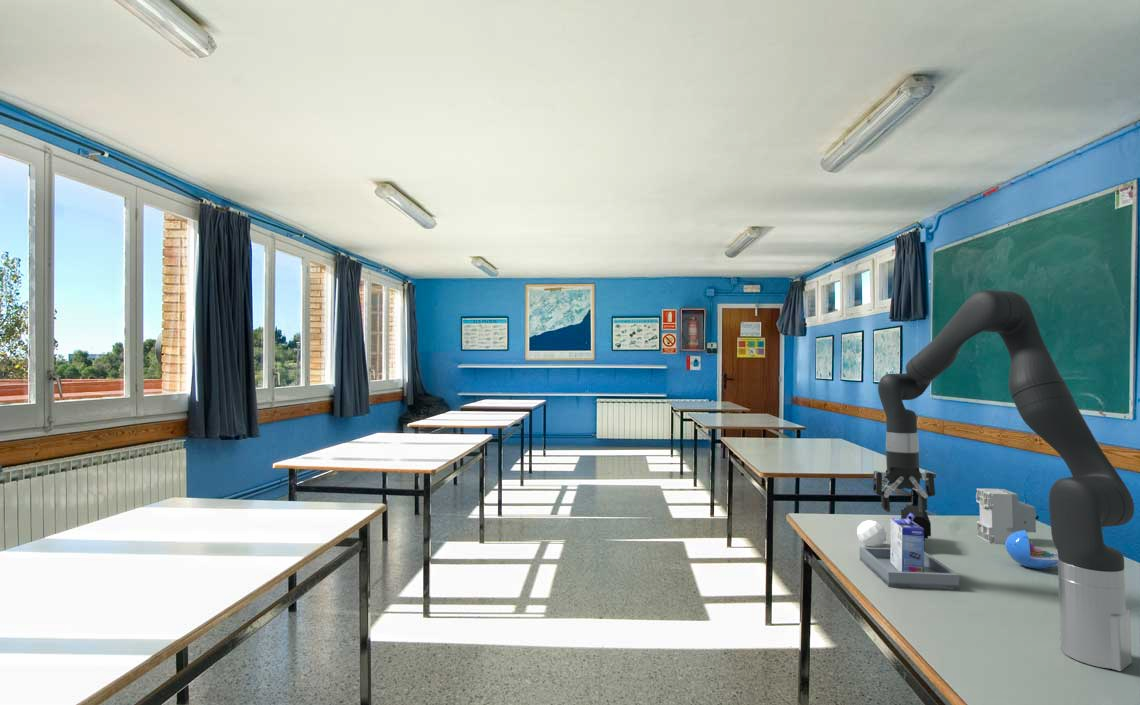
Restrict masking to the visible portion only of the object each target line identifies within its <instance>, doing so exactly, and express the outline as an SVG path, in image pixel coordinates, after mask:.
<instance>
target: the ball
mask: <svg viewBox="0 0 1140 705" xmlns="http://www.w3.org/2000/svg"><path fill="white" fill-rule="evenodd" d="M856 531H857V532H856V535H857V537H858V539H859V541H860V542H861V543H862V544H864V545H866V546H867V547H869V548H879V547H881V546H882V545H883V544H884V543H885V542H886V540H887V532H886V530H885V528H884V526H883V524H880V523H879V522H877V521H875V520H871V519H868V520H864V521H862V522H861V523H860V524H859V525H858V526H857V530H856Z"/></svg>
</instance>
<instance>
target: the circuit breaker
mask: <svg viewBox="0 0 1140 705" xmlns="http://www.w3.org/2000/svg"><path fill="white" fill-rule="evenodd" d="M975 500H976V501H975V502H976V503H978V504H979V520H976V531H977V534H976V537H979V538H980V539H982V540H984V541H985V542H986V543H989V544H991V543H992V544H1004V545H1005V542H1006V539H1007V538H1008V536H1009V535H1011V534H1012V533H1014V532H1017V531H1021V530H1025V531H1026V532H1027V533H1036V532H1037V527H1036V526H1037V524H1036V522H1037V521H1036V520H1039V515H1037V514H1036V507H1035V506H1033V505H1030V504H1027V503H1025V502H1022V501H1019V494H1018V493H1017V492H1013V491H1010V490H1007V489H1005V488H976V494H975Z"/></svg>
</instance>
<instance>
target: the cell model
mask: <svg viewBox="0 0 1140 705" xmlns="http://www.w3.org/2000/svg"><path fill="white" fill-rule="evenodd" d="M1004 547H1005V549H1006V552H1007V554H1008V555H1009V556H1010V558H1011V559H1013V561H1015V563H1016V562H1017V563H1018V564H1019V565H1021V566H1024V567H1027V568H1029V569H1036V570H1037V569H1039V570H1042V569H1048V568H1052V567H1054V566H1056V565H1058V553H1056V552H1053V551H1048V550H1043V549H1042V548H1037V547H1035V545H1034V541H1031V540H1030V539H1029V536H1028V532H1026V531H1025V530H1021V531H1017V532H1014V533H1012V534H1011V535H1009V536H1008V538H1007V539H1006V542H1005V544H1004Z"/></svg>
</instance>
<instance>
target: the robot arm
mask: <svg viewBox="0 0 1140 705" xmlns="http://www.w3.org/2000/svg"><path fill="white" fill-rule="evenodd" d="M1035 318H1036V317H1035V316H1034V313H1033V310H1032V308H1031V306H1030V304H1029V302H1028V301H1027V299H1026V298H1025V297H1024V296H1022V294H1020V293H1017V292H1014V291H1009V290H995V289H985V290H984V289H983V290H979V291H977V292H976V291H975V292H974V293H973V294H972V295H971V296H969V298H967V299H966V300H965V301H964V303H963V304H962V305H961V306H960V308H958V310H956V312H955V313H954V315H953V316H952V318H950V320H949V321H948V322H947V323H946V324H945V326H944V327H943V328H942V329H941V330H940V331H939V333H938V334H937V335H936V336H935V337H934V339H933V340H932V341H930V342H929V343H928V344H927V345H926V346H924V348H922V350H919V352H918V353H917V354H915V355H914V356H913V357H911V358H910V360H908V362H907V363H906V365H905V372H906V373H887V374H885V375H883V376H882V377H881V378H880V379H879V382H878V386H877V391H878V392H877V393H878V396H879V399H880V402H881V405H882V408H883V411H884V414H885V422H886V429H885V430H886V434H885V435H886V436H885V456H886V457H885V458H886V460H885V463H886V470H885V471H878V470H875V471H873V482H872V483H873V484H872V485H873V487H872V491H873V493H874V494H875V495H878V496H880V501H881V504H880V505H881V509H883V510H884V511H885V512H886V513H890V511H891V501H890V500H891V499H890V497H889V496H890V495H891V494H892V493H893V492H894V491H895V490H896V489H898V490H902V489H903V490H904V489H907V490H914V491H915V492H916V493H917V495H918V497H917V500H918V501H917V506H918V510H919V512H921V513H925V512H927V510H928V498H929V497H934V496H936V488H935V486H936V485H935V479H934V478H935V477H934V473H933V472H930V471H924V472H921V471H920V446H919V436H918V425H917V424H918V423H917V422H918V420H917V419H918V418H917V414H916V412H915V411H913V410H911V409H906V407H905V405H904V401H912V400H915V399H918V398H919V397H921V395H923V394H924V393H925V392H926V391H927V389H928V387H929V386H930V385H931V383H932V381H933V380H935V379H936V378H937V377H939V376H940V375H941V374H943V372H945V371H946V370H947V369H949V368H950V367H951V366H952V365H953V363H954V362H955V360H956V359H957V356H958V354H959V350H960V349H961V347H962V346H963V344H965V343H966V342H967V341H968V340H970V339H971V338H973V337H974V336H977V335H978V334H980V333H982V332H988V333H997V334H998V335H999V336H1000V338H1001V340H1002V341H1003V342H1004V345H1005V347H1006V350H1007V351H1008V354H1009V359H1010V367H1009V376H1008V390H1009V394H1010V396H1011V399H1012V401H1013V403H1014V405H1015V408H1016V409H1017V412H1018V413H1019V415H1020V417H1021V419H1022V421H1023V422H1024V423H1025V425H1027V426H1028V427H1029V428H1030V429H1031V430H1032V431H1033V432H1034V433H1035V434H1036V435H1037V436H1039V437H1040V438H1041V440H1043V441H1044V442H1046V443H1047V444H1048V445H1049V446H1050V447H1051V448H1052V449H1053V450H1055V452H1056V453H1057V454H1058V455H1059V456H1060V457H1061V458H1062V460H1063V461H1064V463H1065V464H1066V466H1067V468H1068V469H1069V471H1070V474H1071V475H1072V476H1070V477H1069V476H1068V477H1063V478H1060V479H1058V480H1056V481H1054V483H1053V484H1052V485H1051V488H1050V490H1049V493H1048V494H1049V495H1048V508H1049V509H1048V511H1049V519H1050V520H1049V521H1050V529H1051V537H1052V538H1051V539H1052V542H1053V544H1054V546H1055V549H1056V550H1057V554H1058V564H1057V570H1058V571H1057V574H1058V602H1059V603H1058V604H1059V605H1058V607H1059V633H1060V634H1059V635H1060V636H1059V640H1060V651H1061V652H1062V653H1063V654H1065V655H1066V656H1068V657H1069V658H1072V659H1073V660H1075V661H1078V662H1081V663H1084V664H1087V665H1089V666H1093V667H1098V668H1105V669H1112V670H1115V671H1118V672H1122V671H1124V670H1125V669H1126V668H1127V667H1128V666H1130V665H1131V664H1132V663H1133V660H1132V658H1133V657H1132V655H1133V654H1132V631H1131V630H1132V629H1131V610H1130V609H1128V608H1126V606H1127V605H1126V604H1127V603H1126V583H1125V582H1126V581H1125V580H1126V579H1125V557H1124V554H1123V552H1121V551H1120V550H1118V549H1116V548H1114V547H1112V546H1108V545H1107V544H1105V542H1104V537H1103V536H1104V534H1103V528H1109V527H1120V526H1124V525H1126V524H1128V523H1129V522H1130V521H1131V520H1132V518H1133V517H1134V514H1135V503H1134V499H1133V496H1132V494H1131V492H1130V490H1129V489H1128V487H1127V485H1126V483H1125V482H1124V481H1123V479H1122V478H1121V476H1120V475H1119V472H1117V470H1116V469H1115V468H1114V466H1113V465H1112V463H1111V461H1110V460H1109V459H1108V457H1107V456H1106V454H1105V452H1104V451H1103V449H1102V448H1101V447H1100V445H1099V444H1098V442H1097V440H1096V438H1095V436H1094V435H1093V433H1092V431H1091V429H1090V427H1089V426H1088V424H1087V422H1086V420H1085V418H1084V417H1083V415H1082V413H1081V412H1080V409H1079V407H1078V405H1077V402H1076V401H1075V398H1074V396H1073V395H1072V393H1071V391H1070V389H1069V387H1068V385H1067V384H1066V382H1065V380H1064V378H1063V376H1062V374H1061V373H1060V371H1059V370H1058V368H1057V366H1056V363H1055V361H1054V360H1053V357H1052V356H1051V353H1050V352H1049V350H1048V348H1047V346H1046V344H1045V341H1044V340H1043V337H1042V333H1041V331H1040V330H1039V326H1038V324H1037V321H1036V319H1035ZM885 478H886V479H887V480H888V481H887V482H886V484H885V485H884V487H882V486H883V481H884V480H885ZM921 479H922V480H923V481H924V486H925V487H924V488H925V490H924V488H923V487H922V485H920V483H919V481H920V480H921Z"/></svg>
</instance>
